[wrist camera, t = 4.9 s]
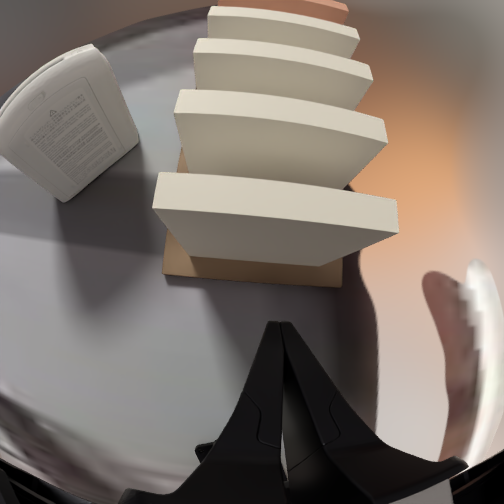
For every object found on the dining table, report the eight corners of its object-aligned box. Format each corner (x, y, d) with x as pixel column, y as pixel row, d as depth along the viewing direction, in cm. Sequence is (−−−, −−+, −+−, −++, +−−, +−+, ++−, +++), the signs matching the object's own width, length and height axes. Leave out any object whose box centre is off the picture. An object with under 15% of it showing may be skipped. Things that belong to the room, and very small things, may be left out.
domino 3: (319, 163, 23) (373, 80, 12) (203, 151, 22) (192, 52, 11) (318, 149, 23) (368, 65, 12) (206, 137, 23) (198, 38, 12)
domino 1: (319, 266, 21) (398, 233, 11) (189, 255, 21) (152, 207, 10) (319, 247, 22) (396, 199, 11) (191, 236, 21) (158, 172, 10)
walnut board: (337, 287, 22) (341, 287, 21) (164, 274, 21) (161, 273, 20) (326, 74, 26) (328, 69, 26) (205, 59, 25) (205, 54, 25)
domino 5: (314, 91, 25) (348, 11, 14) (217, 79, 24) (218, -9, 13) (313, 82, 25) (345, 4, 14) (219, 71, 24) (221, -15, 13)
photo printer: (127, 117, 23) (88, 25, 11) (148, 141, 23) (107, 41, 11) (49, 182, 21) (-25, 119, 9) (64, 211, 21) (-22, 152, 9)
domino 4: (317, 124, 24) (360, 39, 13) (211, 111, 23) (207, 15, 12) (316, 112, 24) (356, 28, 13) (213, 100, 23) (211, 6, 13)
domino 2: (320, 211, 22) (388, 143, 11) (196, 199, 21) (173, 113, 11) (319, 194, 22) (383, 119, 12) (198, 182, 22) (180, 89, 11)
